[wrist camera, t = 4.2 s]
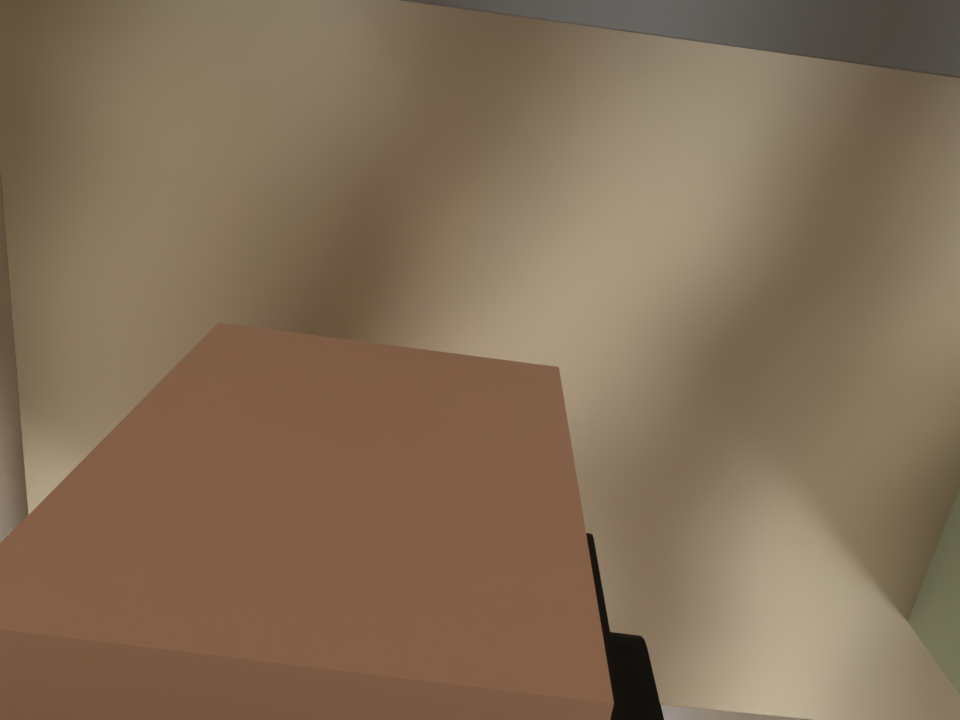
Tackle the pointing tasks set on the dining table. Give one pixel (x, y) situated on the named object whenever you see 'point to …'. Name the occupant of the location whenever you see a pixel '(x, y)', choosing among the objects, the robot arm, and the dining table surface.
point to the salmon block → (313, 547)
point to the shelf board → (548, 273)
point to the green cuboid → (942, 601)
